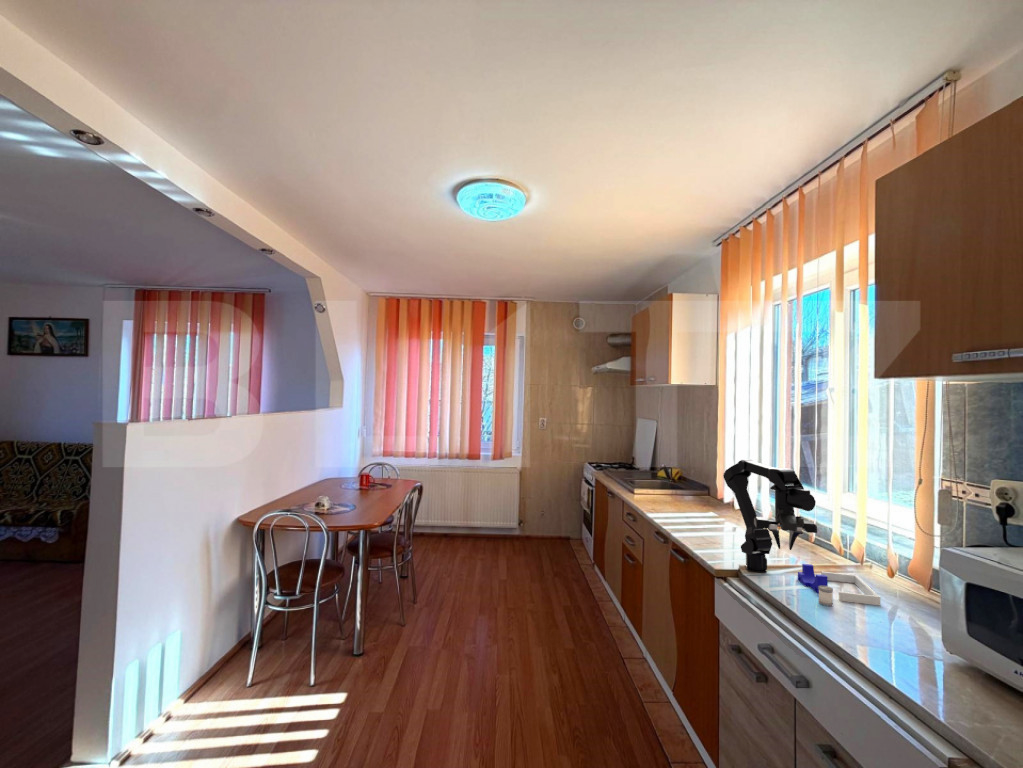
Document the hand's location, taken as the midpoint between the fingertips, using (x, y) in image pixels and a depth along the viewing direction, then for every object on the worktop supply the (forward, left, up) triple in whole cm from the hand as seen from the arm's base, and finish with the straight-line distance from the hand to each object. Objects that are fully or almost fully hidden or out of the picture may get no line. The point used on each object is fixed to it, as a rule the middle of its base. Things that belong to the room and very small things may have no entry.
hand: (784, 549), depth 165 cm
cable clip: (+8, 0, -12) cm, 15 cm away
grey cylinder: (+9, -14, -12) cm, 20 cm away
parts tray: (+19, 0, -12) cm, 22 cm away
